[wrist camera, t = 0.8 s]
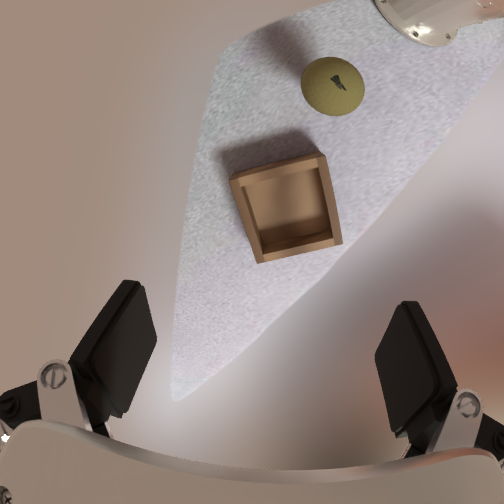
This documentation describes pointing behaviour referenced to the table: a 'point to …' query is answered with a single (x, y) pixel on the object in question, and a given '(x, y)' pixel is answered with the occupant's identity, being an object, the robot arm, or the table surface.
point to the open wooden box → (288, 207)
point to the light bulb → (332, 86)
